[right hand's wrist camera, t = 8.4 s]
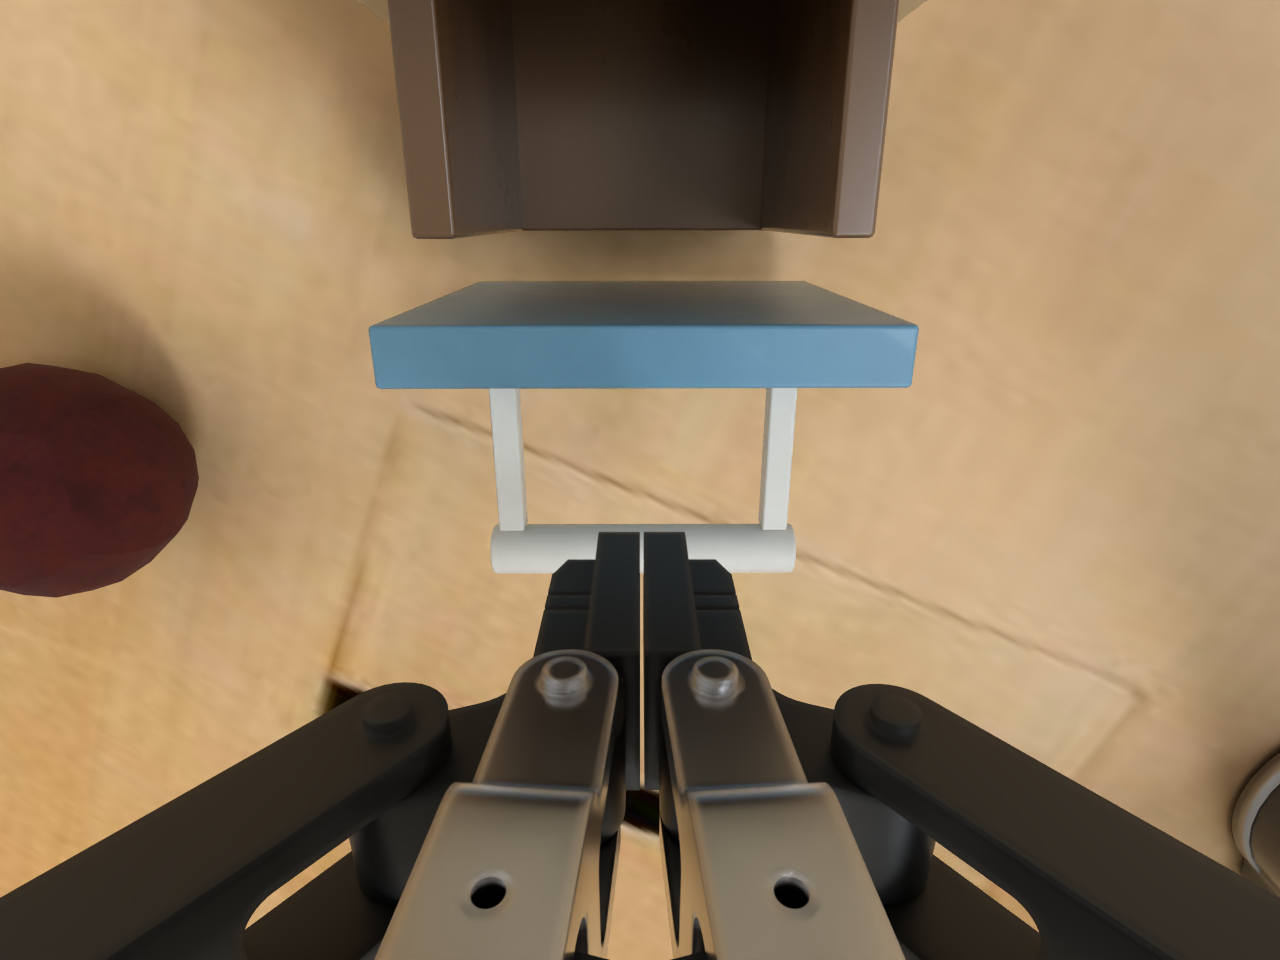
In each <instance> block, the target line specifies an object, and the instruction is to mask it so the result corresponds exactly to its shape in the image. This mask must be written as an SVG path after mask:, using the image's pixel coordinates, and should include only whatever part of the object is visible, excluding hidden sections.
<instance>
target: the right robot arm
mask: <svg viewBox="0 0 1280 960" xmlns="http://www.w3.org/2000/svg"><path fill="white" fill-rule="evenodd" d="M643 646H644V774H645V790H659V800H660V850H661V858H662V867H663V875H664V884H665V892H666V900H667V909H668V917H669V925H670V934H671V942H672V951H673V959H672V960H1280V753H1279V754H1277V755H1276V756H1274V757H1273V758H1272V759H1271V760H1270V761H1268V762H1267V763H1266V764H1265V765H1264V766H1263V767H1262V768H1261V769H1260V770H1259V771H1258V772H1257V773H1256V774H1255V775H1254V776H1253V777H1252V779H1251V780H1250V781H1249V783H1248V784H1247V785H1246V787H1245V788H1244V790H1243V791H1242V793H1241V795H1240V797H1239V799H1238V801H1237V803H1236V806H1235V809H1234V813H1233V818H1232V834H1233V839H1234V841H1235V844H1236V846H1237V848H1238V850H1239V851H1240V853H1241V854H1242V855H1243V857H1244V863H1243V865H1242V867H1241V870H1240V873H1241V875H1242V876H1243V877H1242V876H1240V875H1239V874H1237V873H1235V872H1233V871H1232V870H1230V869H1228V868H1226V867H1225V866H1223V865H1221V864H1219V863H1217V862H1216V861H1214V860H1212V859H1210V858H1209V857H1207V856H1205V855H1203V854H1202V853H1200V852H1198V851H1196V850H1195V849H1193V848H1191V847H1189V846H1187V845H1186V844H1184V843H1182V842H1180V841H1179V840H1177V839H1175V838H1173V837H1172V836H1170V835H1168V834H1166V833H1165V832H1163V831H1161V830H1159V829H1157V828H1156V827H1154V826H1152V825H1150V824H1149V823H1147V822H1145V821H1143V820H1142V819H1140V818H1138V817H1136V816H1135V815H1133V814H1131V813H1129V812H1128V811H1126V810H1124V809H1122V808H1120V807H1119V806H1117V805H1115V804H1113V803H1112V802H1110V801H1108V800H1106V799H1105V798H1103V797H1101V796H1099V795H1098V794H1096V793H1094V792H1092V791H1090V790H1089V789H1087V788H1085V787H1083V786H1082V785H1080V784H1078V783H1076V782H1075V781H1073V780H1071V779H1069V778H1068V777H1066V776H1064V775H1062V774H1061V773H1059V772H1057V771H1055V770H1053V769H1052V768H1050V767H1048V766H1046V765H1045V764H1043V763H1041V762H1039V761H1038V760H1036V759H1034V758H1032V757H1031V756H1029V755H1027V754H1025V753H1023V752H1022V751H1020V750H1018V749H1016V748H1015V747H1013V746H1011V745H1009V744H1008V743H1006V742H1004V741H1002V740H1001V739H999V738H997V737H995V736H994V735H992V734H990V733H988V732H986V731H985V730H983V729H981V728H979V727H978V726H976V725H974V724H972V723H971V722H969V721H967V720H965V719H964V718H962V717H960V716H958V715H956V714H955V713H953V712H951V711H949V710H948V709H946V708H944V707H942V706H941V705H939V704H937V703H935V702H934V701H932V700H930V699H928V698H926V697H925V696H923V695H921V694H919V693H916V692H914V691H911V690H908V689H905V688H902V687H898V686H892V685H885V684H867V685H861V686H858V687H854V688H852V689H850V690H848V691H846V692H845V693H844V694H842V695H841V696H840V698H839V699H838V700H837V702H836V705H835V710H833V709H829V708H824V707H820V706H816V705H811V704H807V703H803V702H799V701H796V700H793V699H791V698H788V697H786V696H784V695H782V694H780V693H778V692H777V691H775V690H773V689H772V688H771V685H770V683H769V680H768V678H767V676H766V674H765V672H764V671H763V670H762V669H761V667H759V666H758V665H757V664H756V663H755V662H753V661H752V658H751V654H750V650H749V645H748V641H747V637H746V633H745V629H744V625H743V621H742V616H741V612H740V610H739V604H738V600H737V596H736V592H735V587H734V583H733V579H732V575H731V574H730V573H729V572H728V571H727V570H726V569H725V568H724V567H723V566H722V565H721V564H720V563H719V562H718V561H717V560H716V559H689V558H688V551H687V543H686V536H685V532H644V576H643ZM626 790H640V532H599V534H598V541H597V549H596V558H595V559H568V560H567V561H566V562H565V563H564V564H563V565H562V566H561V567H560V568H559V569H558V570H557V571H556V572H554V573H553V574H552V578H551V583H550V587H549V591H548V596H547V600H546V604H545V610H544V613H543V617H542V622H541V626H540V630H539V635H538V639H537V643H536V648H535V652H534V656H533V658H532V659H530V660H528V661H527V662H525V663H524V664H523V665H522V666H521V667H519V669H518V670H517V671H516V672H515V674H514V676H513V678H512V680H511V683H510V685H509V688H508V691H507V693H505V694H503V695H501V696H499V697H497V698H495V699H492V700H490V701H487V702H483V703H479V704H475V705H471V706H466V707H462V708H457V709H453V710H448V705H447V702H446V699H445V698H444V697H443V695H442V694H441V693H440V692H438V691H437V690H436V689H434V688H432V687H430V686H427V685H423V684H418V683H406V682H404V683H393V684H387V685H383V686H379V687H376V688H373V689H370V690H368V691H365V692H363V693H361V694H359V695H357V696H355V697H354V698H352V699H350V700H348V701H346V702H345V703H343V704H341V705H339V706H338V707H336V708H334V709H332V710H331V711H329V712H327V713H325V714H324V715H322V716H320V717H318V718H316V719H315V720H313V721H311V722H309V723H308V724H306V725H304V726H302V727H301V728H299V729H297V730H295V731H294V732H292V733H290V734H288V735H287V736H285V737H283V738H281V739H279V740H278V741H276V742H274V743H272V744H271V745H269V746H267V747H265V748H264V749H262V750H260V751H258V752H257V753H255V754H253V755H251V756H249V757H248V758H246V759H244V760H242V761H241V762H239V763H237V764H235V765H234V766H232V767H230V768H228V769H227V770H225V771H223V772H221V773H220V774H218V775H216V776H214V777H212V778H211V779H209V780H207V781H205V782H204V783H202V784H200V785H198V786H197V787H195V788H193V789H191V790H190V791H188V792H186V793H184V794H182V795H181V796H179V797H177V798H175V799H174V800H172V801H170V802H168V803H167V804H165V805H163V806H161V807H160V808H158V809H156V810H154V811H153V812H151V813H149V814H147V815H145V816H144V817H142V818H140V819H138V820H137V821H135V822H133V823H131V824H130V825H128V826H126V827H124V828H123V829H121V830H119V831H117V832H115V833H114V834H112V835H110V836H108V837H107V838H105V839H103V840H101V841H100V842H98V843H96V844H94V845H93V846H91V847H89V848H87V849H85V850H84V851H82V852H80V853H78V854H77V855H75V856H73V857H71V858H70V859H68V860H66V861H64V862H63V863H61V864H59V865H57V866H56V867H54V868H52V869H50V870H48V871H47V872H45V873H43V874H41V875H40V876H38V877H36V878H34V879H33V880H31V881H29V882H27V883H26V884H24V885H22V886H20V887H18V888H17V889H15V890H13V891H11V892H10V893H8V894H6V895H4V896H3V897H1V898H0V960H608V959H607V951H608V942H609V934H610V925H611V917H612V909H613V900H614V892H615V884H616V875H617V867H618V858H619V850H620V825H621V824H622V821H623V818H624V814H625V792H626ZM348 838H349V840H350V845H351V849H352V851H351V852H350V853H348V854H347V855H346V856H344V857H343V858H342V859H340V860H339V861H338V862H336V863H335V864H333V865H332V866H331V867H329V868H328V869H327V870H325V871H324V872H323V873H321V874H320V875H319V876H317V877H316V878H315V879H313V880H312V881H310V882H309V883H308V884H306V885H305V886H304V887H302V888H301V889H300V890H298V891H297V892H296V893H294V894H293V895H292V896H290V897H289V898H287V899H286V900H285V901H283V902H282V903H281V904H279V905H278V906H277V907H275V908H274V909H273V910H271V911H270V912H269V913H267V914H266V915H264V916H263V917H262V918H260V919H259V920H258V921H256V922H255V923H254V924H252V925H251V926H250V927H248V928H247V929H246V930H245V928H246V925H247V923H248V921H249V919H250V917H251V916H252V914H253V913H254V911H255V910H256V909H257V907H258V906H259V905H260V904H261V903H262V902H263V901H264V900H265V899H266V898H267V897H268V896H269V895H271V894H272V893H273V892H274V891H276V890H277V889H278V888H280V887H281V886H283V885H284V884H285V883H287V882H288V881H290V880H291V879H292V878H294V877H295V876H296V875H298V874H299V873H301V872H302V871H303V870H305V869H306V868H308V867H309V866H310V865H312V864H313V863H314V862H316V861H317V860H319V859H320V858H321V857H323V856H324V855H326V854H327V853H328V852H330V851H331V850H333V849H334V848H335V847H337V846H338V845H339V844H341V843H342V842H344V841H345V840H346V839H348ZM935 841H936V842H938V843H939V844H941V845H942V846H943V847H945V848H946V849H948V850H949V851H950V852H952V853H953V854H954V855H956V856H957V857H959V858H960V859H961V860H963V861H964V862H966V863H967V864H968V865H970V866H971V867H972V868H974V869H975V870H977V871H978V872H979V873H981V874H982V875H984V876H985V877H986V878H988V879H989V880H990V881H992V882H993V883H995V884H996V885H997V886H999V887H1000V888H1002V889H1003V890H1004V891H1006V892H1007V893H1008V894H1010V895H1011V896H1012V897H1014V898H1015V899H1016V900H1017V901H1018V902H1019V903H1020V904H1021V905H1022V906H1023V907H1024V908H1025V909H1026V910H1027V911H1028V913H1029V914H1030V916H1031V917H1032V918H1033V920H1034V922H1035V924H1036V925H1037V928H1038V930H1039V932H1037V931H1036V930H1035V929H1033V928H1032V927H1030V926H1029V925H1028V924H1026V923H1025V922H1024V921H1022V920H1021V919H1020V918H1018V917H1017V916H1016V915H1014V914H1013V913H1012V912H1010V911H1009V910H1007V909H1006V908H1005V907H1003V906H1002V905H1001V904H999V903H998V902H997V901H995V900H994V899H993V898H991V897H990V896H989V895H987V894H986V893H984V892H983V891H982V890H980V889H979V888H978V887H976V886H975V885H974V884H972V883H971V882H970V881H968V880H967V879H966V878H964V877H963V876H961V875H960V874H959V873H957V872H956V871H955V870H953V869H952V868H951V867H949V866H948V865H947V864H945V863H944V862H943V861H941V860H940V859H938V858H937V857H936V856H934V855H933V851H934V846H935Z"/></svg>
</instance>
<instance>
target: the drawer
mask: <svg viewBox="0 0 1280 960" xmlns="http://www.w3.org/2000/svg"><path fill="white" fill-rule="evenodd" d="M387 4H388V13H389V22H390V32H391V41H392V50H393V60H394V69H395V78H396V88H397V97H398V106H399V116H400V125H401V134H402V144H403V153H404V162H405V172H406V181H407V190H408V200H409V209H410V218H411V228H412V235H413V237H414V238H417V239H453V238H462V237H471V236H479V235H488V234H497V233H505V232H514V231H594V230H766V231H776V232H785V233H795V234H804V235H814V236H823V237H833V238H869V237H872V236H873V235H874V233H875V225H876V216H877V207H878V197H879V188H880V178H881V169H882V160H883V150H884V141H885V131H886V122H887V113H888V103H889V94H890V85H891V75H892V66H893V56H894V47H895V38H896V28H897V19H898V9H899V0H387ZM918 330H919V329H918V325H915V324H913V323H910V322H908V321H905V320H902V319H900V318H897V317H895V316H892V315H890V314H887V313H884V312H882V311H879V310H877V309H874V308H872V307H869V306H866V305H864V304H861V303H859V302H856V301H854V300H851V299H848V298H846V297H843V296H841V295H838V294H836V293H833V292H830V291H828V290H825V289H823V288H820V287H818V286H815V285H812V284H810V283H807V282H805V281H621V282H478V283H476V284H473V285H471V286H468V287H466V288H463V289H461V290H458V291H456V292H453V293H451V294H449V295H446V296H444V297H441V298H439V299H436V300H434V301H431V302H429V303H426V304H424V305H422V306H419V307H417V308H414V309H412V310H409V311H407V312H404V313H402V314H399V315H397V316H395V317H392V318H390V319H387V320H385V321H382V322H380V323H377V324H375V325H372V326H370V327H369V337H370V344H371V352H372V359H373V367H374V374H375V382H376V386H377V388H380V389H489V398H490V411H491V424H492V437H493V450H494V463H495V476H496V489H497V502H498V515H499V524H497V525H495V526H494V529H493V532H492V537H491V564H492V568H493V571H494V572H495V573H554V572H556V571H557V570H558V569H559V568H560V567H561V566H562V565H563V564H564V563H565V562H566V561H567V560H568V559H595V558H596V549H597V541H598V534H599V532H640V573H644V532H685V536H686V543H687V551H688V558H689V559H716V560H717V561H718V562H719V563H720V564H721V565H722V566H723V567H724V568H725V569H726V570H727V571H728V572H729V573H790V572H792V571H793V569H794V565H795V559H796V542H795V534H794V530H793V527H792V525H790V524H787V516H788V503H789V490H790V477H791V464H792V451H793V437H794V424H795V411H796V398H797V388H907V387H910V386H911V383H912V375H913V368H914V360H915V353H916V345H917V338H918ZM562 388H767V389H766V406H765V422H764V438H763V455H762V471H761V488H760V504H759V522H760V524H527V521H528V519H527V503H526V487H525V471H524V454H523V438H522V422H521V406H520V390H519V389H562Z"/></svg>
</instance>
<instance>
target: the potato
mask: <svg viewBox="0 0 1280 960" xmlns="http://www.w3.org/2000/svg"><path fill="white" fill-rule="evenodd" d="M198 478H199V477H198V470H197V464H196V458H195V452H194V449H193V448H192V446H191V444H190V443H189V441H188V439H187V438H186V436H185V434H184V433H183V431H182V429H181V428H180V426H179V425H178V424H177V423H176V422H175V421H174V420H173V419H172V418H171V417H169V416H168V415H167V414H166V413H165V412H164V411H163V410H162V409H161V408H159V407H158V406H157V405H156V404H155V403H153V402H151V401H149V400H148V399H146V398H144V397H142V396H140V395H138V394H136V393H134V392H132V391H130V390H128V389H126V388H124V387H122V386H120V385H118V384H116V383H114V382H112V381H110V380H108V379H106V378H105V377H103V376H101V375H98V374H93V373H88V372H83V371H78V370H73V369H67V368H62V367H56V366H48V365H40V364H32V363H25V364H20V365H15V366H10V367H5V368H1V369H0V590H4V591H9V592H13V593H18V594H22V595H32V596H45V597H61V596H66V595H71V594H76V593H81V592H86V591H91V590H95V589H98V588H101V587H104V586H107V585H111V584H114V583H117V582H120V581H122V580H124V579H125V578H127V577H128V576H130V575H131V574H133V573H134V572H136V571H137V570H139V569H140V568H142V567H143V566H145V565H146V564H148V563H149V562H151V561H152V560H153V559H154V558H155V557H156V555H157V554H158V553H159V552H160V551H161V550H162V549H163V548H164V547H165V546H166V545H167V544H168V543H169V542H170V541H171V540H172V539H173V538H174V537H175V536H176V534H177V533H178V532H179V530H180V529H181V528H182V526H183V525H184V523H185V522H186V521H187V519H188V516H189V512H190V509H191V506H192V503H193V500H194V496H195V493H196V490H197V486H198Z"/></svg>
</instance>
